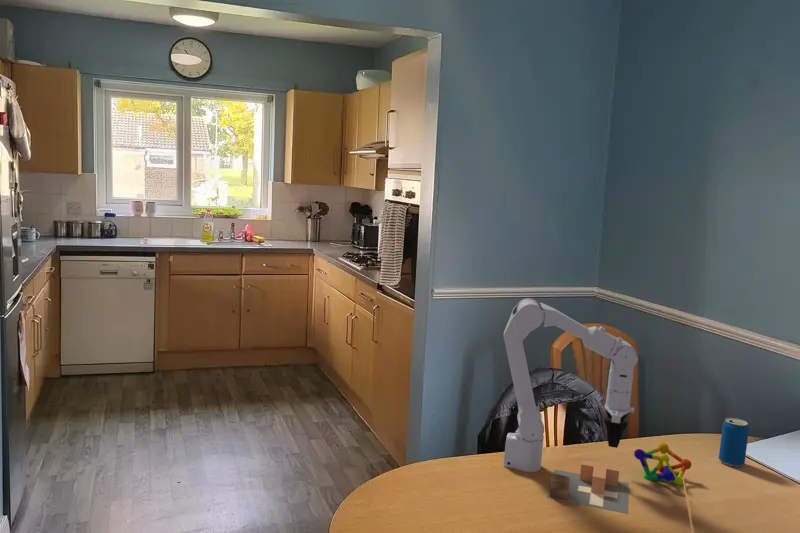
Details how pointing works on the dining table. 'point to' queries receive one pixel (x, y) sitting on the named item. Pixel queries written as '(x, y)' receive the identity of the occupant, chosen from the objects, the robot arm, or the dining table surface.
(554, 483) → the walnut cube
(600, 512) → the dining table surface
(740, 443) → the beverage can
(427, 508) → the dining table surface
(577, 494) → the board
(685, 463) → the decorative model
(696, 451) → the dining table surface
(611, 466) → the t block
